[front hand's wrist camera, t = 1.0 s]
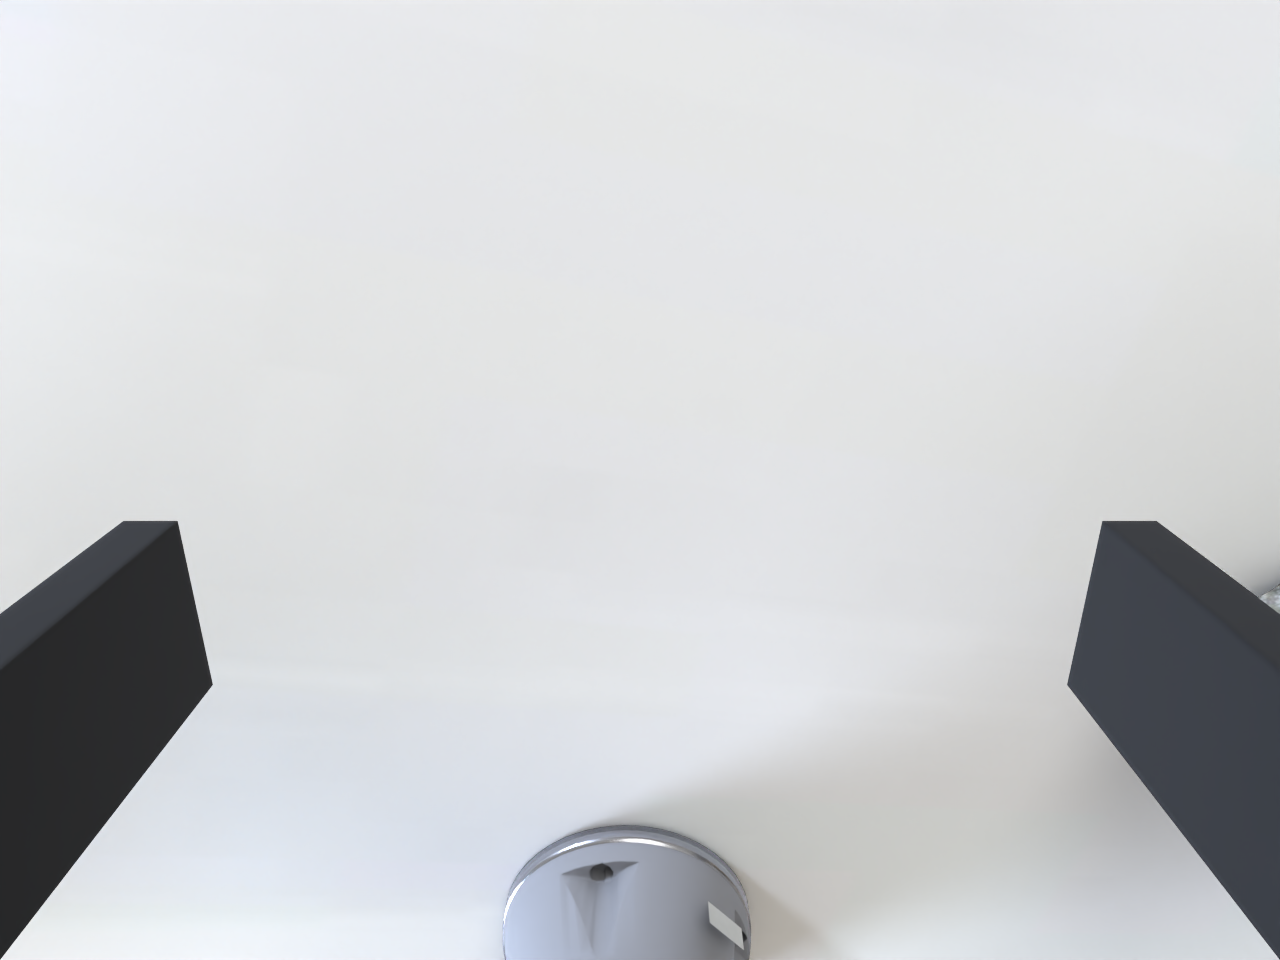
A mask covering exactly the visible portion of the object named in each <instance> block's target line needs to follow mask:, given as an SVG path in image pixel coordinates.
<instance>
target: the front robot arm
mask: <svg viewBox="0 0 1280 960" xmlns="http://www.w3.org/2000/svg"><path fill="white" fill-rule="evenodd" d="M212 685H213V684H212V679H211V675H210V670H209V665H208V661H207V656H206V651H205V647H204V642H203V637H202V633H201V628H200V623H199V619H198V614H197V609H196V605H195V600H194V596H193V591H192V586H191V582H190V577H189V572H188V568H187V563H186V558H185V554H184V549H183V544H182V540H181V535H180V530H179V526H178V521H123V522H122V523H120V524H119V525H118V526H116V527H115V528H114V529H112V530H111V531H110V532H108V533H107V534H106V535H104V536H103V537H102V538H100V539H99V540H98V541H96V542H95V543H94V544H93V545H91V546H90V547H89V548H87V549H86V550H85V551H83V552H82V553H81V554H79V555H78V556H77V557H75V558H74V559H73V560H71V561H70V562H69V563H67V564H66V565H65V566H63V567H62V568H61V569H59V570H58V571H57V572H55V573H54V574H53V575H51V576H50V577H49V578H47V579H46V580H45V581H43V582H42V583H41V584H39V585H38V586H37V587H35V588H34V589H33V590H31V591H30V592H29V593H27V594H26V595H25V596H23V597H22V598H21V599H19V600H18V601H17V602H15V603H14V604H13V605H11V606H10V607H9V608H8V609H6V610H5V611H4V612H2V613H1V614H0V959H1V958H2V957H3V955H4V954H5V953H6V951H7V950H8V949H9V948H10V946H11V945H12V944H13V942H14V941H15V940H16V938H17V937H18V936H19V935H20V933H21V932H22V931H23V929H24V928H25V927H26V926H27V924H28V923H29V922H30V920H31V919H32V918H33V916H34V915H35V914H36V913H37V911H38V910H39V909H40V907H41V906H42V905H43V904H44V902H45V901H46V900H47V898H48V897H49V896H50V895H51V893H52V892H53V891H54V889H55V888H56V887H57V885H58V884H59V883H60V882H61V880H62V879H63V878H64V876H65V875H66V874H67V873H68V871H69V870H70V869H71V867H72V866H73V865H74V863H75V862H76V861H77V860H78V858H79V857H80V856H81V854H82V853H83V852H84V851H85V849H86V848H87V847H88V845H89V844H90V843H91V841H92V840H93V839H94V838H95V836H96V835H97V834H98V832H99V831H100V830H101V829H102V827H103V826H104V825H105V823H106V822H107V821H108V820H109V818H110V817H111V816H112V814H113V813H114V812H115V810H116V809H117V808H118V807H119V805H120V804H121V803H122V801H123V800H124V799H125V798H126V796H127V795H128V794H129V792H130V791H131V790H132V788H133V787H134V786H135V785H136V783H137V782H138V781H139V779H140V778H141V777H142V776H143V774H144V773H145V772H146V770H147V769H148V768H149V767H150V765H151V764H152V763H153V761H154V760H155V759H156V757H157V756H158V755H159V754H160V752H161V751H162V750H163V748H164V747H165V746H166V745H167V743H168V742H169V741H170V739H171V738H172V737H173V735H174V734H175V733H176V732H177V730H178V729H179V728H180V726H181V725H182V724H183V723H184V721H185V720H186V719H187V717H188V716H189V715H190V713H191V712H192V711H193V710H194V708H195V707H196V706H197V704H198V703H199V702H200V701H201V699H202V698H203V697H204V695H205V694H206V693H207V692H208V690H209V689H210V688H211V686H212ZM1067 685H1068V686H1069V688H1070V689H1071V690H1072V692H1073V693H1074V694H1075V695H1076V697H1077V698H1078V699H1079V701H1080V702H1081V703H1082V704H1083V706H1084V707H1085V708H1086V710H1087V711H1088V712H1089V713H1090V715H1091V716H1092V717H1093V719H1094V720H1095V721H1096V723H1097V724H1098V725H1099V726H1100V728H1101V729H1102V730H1103V732H1104V733H1105V734H1106V735H1107V737H1108V738H1109V739H1110V741H1111V742H1112V743H1113V745H1114V746H1115V747H1116V748H1117V750H1118V751H1119V752H1120V754H1121V755H1122V756H1123V757H1124V759H1125V760H1126V761H1127V763H1128V764H1129V765H1130V767H1131V768H1132V769H1133V770H1134V772H1135V773H1136V774H1137V776H1138V777H1139V778H1140V779H1141V781H1142V782H1143V783H1144V785H1145V786H1146V787H1147V788H1148V790H1149V791H1150V792H1151V794H1152V795H1153V796H1154V798H1155V799H1156V800H1157V801H1158V803H1159V804H1160V805H1161V807H1162V808H1163V809H1164V810H1165V812H1166V813H1167V814H1168V816H1169V817H1170V818H1171V820H1172V821H1173V822H1174V823H1175V825H1176V826H1177V827H1178V829H1179V830H1180V831H1181V832H1182V834H1183V835H1184V836H1185V838H1186V839H1187V840H1188V842H1189V843H1190V844H1191V845H1192V847H1193V848H1194V849H1195V851H1196V852H1197V853H1198V854H1199V856H1200V857H1201V858H1202V860H1203V861H1204V862H1205V863H1206V865H1207V866H1208V867H1209V869H1210V870H1211V871H1212V873H1213V874H1214V875H1215V876H1216V878H1217V879H1218V880H1219V882H1220V883H1221V884H1222V885H1223V887H1224V888H1225V889H1226V891H1227V892H1228V893H1229V895H1230V896H1231V897H1232V898H1233V900H1234V901H1235V902H1236V904H1237V905H1238V906H1239V907H1240V909H1241V910H1242V911H1243V913H1244V914H1245V915H1246V916H1247V918H1248V919H1249V920H1250V922H1251V923H1252V924H1253V926H1254V927H1255V928H1256V929H1257V931H1258V932H1259V933H1260V935H1261V936H1262V937H1263V938H1264V940H1265V941H1266V942H1267V944H1268V945H1269V946H1270V948H1271V949H1272V950H1273V951H1274V953H1275V954H1276V955H1277V957H1278V958H1279V959H1280V614H1279V613H1278V612H1276V611H1275V610H1274V609H1272V608H1271V607H1270V606H1269V605H1267V604H1266V603H1265V602H1263V601H1262V600H1261V599H1259V598H1258V597H1257V596H1255V595H1254V594H1253V593H1251V592H1250V591H1249V590H1247V589H1246V588H1245V587H1243V586H1242V585H1241V584H1239V583H1238V582H1237V581H1235V580H1234V579H1233V578H1231V577H1230V576H1229V575H1227V574H1226V573H1225V572H1223V571H1222V570H1221V569H1219V568H1218V567H1217V566H1215V565H1214V564H1213V563H1211V562H1210V561H1209V560H1207V559H1206V558H1205V557H1203V556H1202V555H1201V554H1199V553H1198V552H1197V551H1195V550H1194V549H1193V548H1191V547H1190V546H1189V545H1187V544H1186V543H1185V542H1184V541H1182V540H1181V539H1180V538H1178V537H1177V536H1176V535H1174V534H1173V533H1172V532H1170V531H1169V530H1168V529H1166V528H1165V527H1164V526H1162V525H1161V524H1160V523H1158V522H1157V521H1102V526H1101V530H1100V535H1099V540H1098V544H1097V549H1096V554H1095V558H1094V563H1093V568H1092V572H1091V577H1090V582H1089V586H1088V591H1087V596H1086V600H1085V605H1084V609H1083V614H1082V619H1081V623H1080V628H1079V633H1078V637H1077V642H1076V647H1075V651H1074V656H1073V661H1072V665H1071V670H1070V675H1069V679H1068V684H1067ZM750 946H751V924H750V916H749V908H748V902H747V898H746V895H745V892H744V889H743V887H742V885H741V883H740V881H739V880H738V878H737V876H736V875H735V873H734V872H733V871H732V870H731V868H730V867H729V866H728V865H727V864H726V863H725V862H724V861H723V860H722V859H721V858H720V857H718V856H717V855H716V854H715V853H714V852H712V851H711V850H709V849H708V848H706V847H705V846H703V845H701V844H699V843H698V842H696V841H694V840H691V839H689V838H687V837H685V836H682V835H679V834H676V833H673V832H669V831H666V830H662V829H657V828H651V827H643V826H625V825H624V826H608V827H600V828H595V829H590V830H586V831H582V832H579V833H576V834H573V835H570V836H568V837H565V838H563V839H561V840H559V841H557V842H555V843H553V844H551V845H550V846H548V847H546V848H545V849H543V850H542V851H541V852H539V853H538V854H536V855H535V856H534V857H533V858H532V859H531V860H530V861H529V862H528V863H527V864H526V865H525V866H524V867H523V868H522V870H521V871H520V873H519V874H518V875H517V877H516V879H515V881H514V882H513V884H512V887H511V889H510V892H509V895H508V899H507V904H506V910H505V916H504V923H503V950H504V956H505V960H749V955H750Z"/></svg>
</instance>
